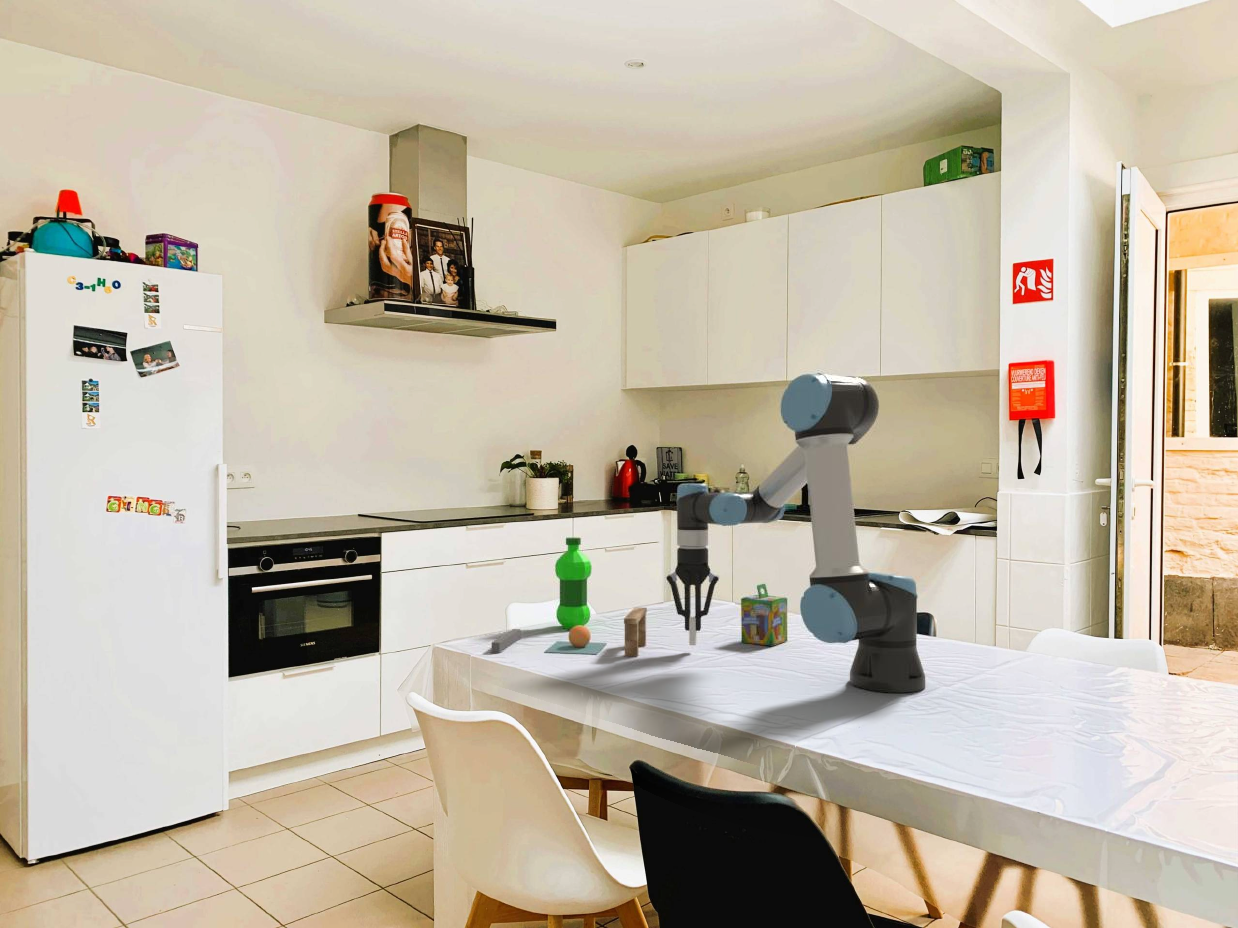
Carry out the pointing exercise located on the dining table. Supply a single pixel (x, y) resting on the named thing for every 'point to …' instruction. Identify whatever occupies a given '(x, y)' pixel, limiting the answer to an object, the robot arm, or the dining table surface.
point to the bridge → (635, 631)
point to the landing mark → (575, 648)
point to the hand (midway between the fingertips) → (693, 643)
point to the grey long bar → (506, 640)
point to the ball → (579, 636)
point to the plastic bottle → (573, 585)
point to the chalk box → (763, 618)
